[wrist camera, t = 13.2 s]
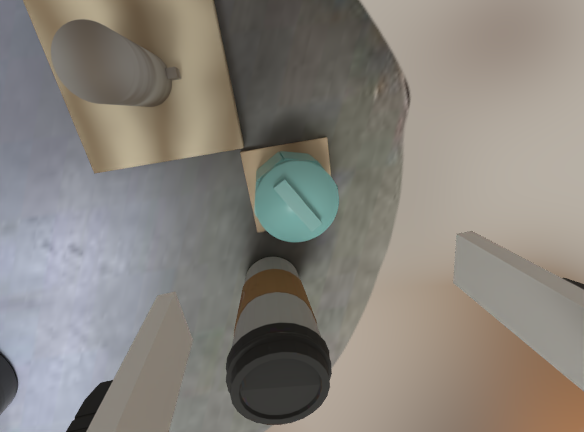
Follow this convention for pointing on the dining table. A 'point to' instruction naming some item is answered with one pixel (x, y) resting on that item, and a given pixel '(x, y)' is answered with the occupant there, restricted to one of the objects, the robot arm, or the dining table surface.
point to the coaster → (260, 156)
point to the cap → (295, 197)
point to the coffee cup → (276, 348)
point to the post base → (189, 99)
